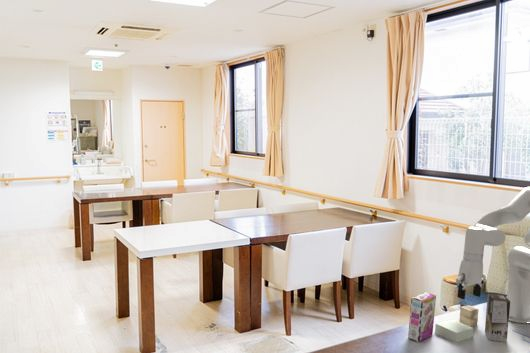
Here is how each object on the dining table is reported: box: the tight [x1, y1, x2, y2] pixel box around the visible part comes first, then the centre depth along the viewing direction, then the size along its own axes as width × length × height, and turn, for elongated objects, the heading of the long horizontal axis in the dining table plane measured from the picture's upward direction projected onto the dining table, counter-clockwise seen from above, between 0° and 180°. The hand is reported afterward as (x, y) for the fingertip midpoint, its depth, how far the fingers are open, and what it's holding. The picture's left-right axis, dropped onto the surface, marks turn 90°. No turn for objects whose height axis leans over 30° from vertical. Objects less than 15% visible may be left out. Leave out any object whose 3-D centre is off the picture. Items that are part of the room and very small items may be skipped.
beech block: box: [458, 304, 479, 328], centre depth 208 cm, size 5×5×7 cm
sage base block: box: [434, 318, 474, 343], centre depth 196 cm, size 10×10×4 cm
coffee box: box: [484, 293, 510, 343], centre depth 195 cm, size 9×6×16 cm
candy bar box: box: [407, 291, 437, 343], centre depth 192 cm, size 11×5×16 cm, turn 134°
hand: (468, 297), depth 207 cm, fingers open, 9 cm apart
